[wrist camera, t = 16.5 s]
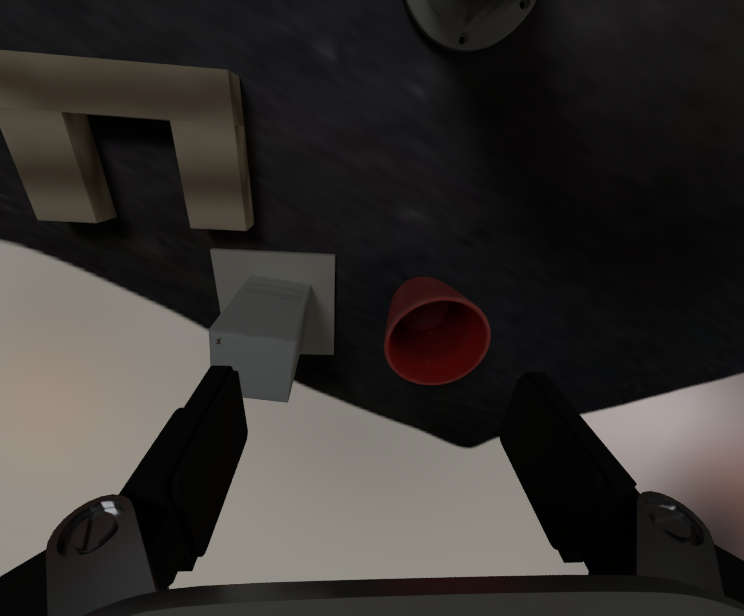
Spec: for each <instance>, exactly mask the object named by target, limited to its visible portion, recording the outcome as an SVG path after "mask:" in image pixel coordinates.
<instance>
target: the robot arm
mask: <svg viewBox="0 0 744 616" xmlns="http://www.w3.org/2000/svg"><path fill="white" fill-rule="evenodd" d="M404 2H405V5H406V8H407V10H408V13H409V15H410V16H411V18H412V20H413V21H414V23H415V25H416V26H417V28H418V29H419V30H420V31H421V32H422V33H423V34H424V36H425V37H426V38H428V39H429V40H430V41H432V42H433V43H434V44H436V45H437V46H439V47H441V48H444V49H446V50H449V51H453V52H460V53H467V52H476V51H479V50H482V49H485V48H488V47H490V46H492V45H493V44H495V43H497V42H499V41H500V40H502V39H503V38H504V37H506V36H507V35H508V34H510V33H511V32H512V31H513V30H514V29H515V28H516V27H517V26H518V25H519V24H520V23H521V22H522V21H523V20H524V18H525V17H526V16H527V15H528V13H529V12H530V11H531V9H532V8H533V6H534V4H535V2H536V0H404ZM520 3H521V4H522V9H521V7H520ZM459 38H462V39H463V44H460V43H459ZM247 434H248V429H247V423H246V416H245V410H244V405H243V397H242V391H241V385H240V378H239V373H238V371H237V370H233V368H232V366H219V365H213V366H211V367H210V368H209V370H208V371H207V373H206V374H205V376H204V377H203V379H202V380H201V382H200V384H199V385H198V387H197V388H196V390H195V391H194V393H193V394H192V396H191V397H190V399H189V400H188V402H187V403H186V405H185V407H184V408H179V409H177V410H176V411H175V412H174V413H173V415H172V416H171V418H170V419H169V421H168V422H167V424H166V425H165V427H164V428H163V430H162V431H161V433H160V434H159V436H158V437H157V439H156V440H155V441H154V443H153V444H152V446H151V448H150V449H149V450H148V452H147V453H146V455H145V456H144V458H143V459H142V461H141V462H140V464H139V465H138V467H137V468H136V470H135V471H134V473H133V474H132V476H131V477H130V479H129V480H128V482H127V483H126V484H125V486H124V488H123V489H122V491H121V492H120V494H119V495H114V494H112V495H107V496H101V497H99V498H96V499H94V500H91V501H89V502H87V503H85V504H84V505H82V506H80V507H79V508H77V509H76V510H74V511H73V512H72V513H71V514H69V515H68V516H67V517H66V518H65V519H63V521H62V522H61V523H60V524H59V525H58V526H57V528H56V529H55V530H54V531H53V533H52V535H51V537H50V539H49V541H48V543H47V548H46V550H44V551H43V552H41V553H39V554H38V555H36V556H34V557H33V558H31V559H29V560H27V561H26V562H24V563H23V564H21V565H19V566H17V567H16V568H14V569H12V570H11V571H9V572H8V573H6V574H4V575H2V576H1V577H0V616H744V561H743V560H741V559H739V558H738V557H736V556H734V555H732V554H731V553H729V552H727V551H725V550H723V549H722V548H720V547H718V546H717V545H715V544H714V542H713V539H712V536H711V534H710V531H709V530H708V529H707V527H706V526H705V524H704V523H703V522H702V521H701V520H700V519H699V518H698V517H697V516H696V515H695V514H694V513H693V512H692V511H691V510H690V509H688V508H687V507H686V506H684V505H683V504H681V503H680V502H678V501H676V500H675V499H673V498H671V497H669V496H666V495H664V494H661V493H657V492H652V491H648V492H643V493H641V494H640V493H639V492H638V491H637V490H636V488H635V486H636V482H635V481H634V480H633V479H632V478H631V476H630V475H629V474H628V473H627V471H626V470H625V469H624V468H623V467H622V465H621V464H620V463H619V462H618V461H617V459H616V458H615V457H614V456H613V455H612V453H611V452H610V451H609V450H608V449H607V447H606V446H605V445H604V444H603V443H602V441H601V440H600V439H599V438H598V437H597V436H596V434H595V433H594V432H593V430H592V429H591V428H590V427H589V426H588V424H587V423H586V422H585V421H584V420H583V418H582V417H581V416H580V415H579V414H578V412H577V411H576V410H575V409H574V408H573V406H572V405H571V404H570V403H569V401H568V400H567V399H566V398H565V397H564V395H563V394H562V393H561V392H560V391H559V389H558V388H557V387H556V386H555V385H554V383H553V382H552V381H551V380H550V379H549V377H548V376H547V375H546V374H545V373H531V372H527V373H525V374H524V375H523V377H520V378H519V379H518V381H517V384H516V387H515V390H514V393H513V396H512V398H511V401H510V404H509V407H508V410H507V413H506V416H505V419H504V421H503V424H502V427H501V430H500V441H501V444H502V446H503V448H504V450H505V452H506V454H507V456H508V458H509V460H510V462H511V464H512V467H513V468H514V470H515V472H516V475H517V477H518V479H519V481H520V483H521V485H522V487H523V489H524V491H525V493H526V495H527V497H528V499H529V501H530V503H531V505H532V507H533V509H534V511H535V513H536V515H537V518H538V520H539V522H540V524H541V526H542V528H543V530H544V532H545V534H546V536H547V538H548V540H549V542H550V544H551V546H552V547H553V548H554V549H556V550H558V552H559V554H560V555H561V557H562V559H563V561H564V563H572V562H583V561H584V563H585V565H586V567H587V568H588V570H589V573H588V575H542V576H541V575H540V576H488V577H447V578H407V579H369V580H337V581H304V582H271V583H250V584H230V585H212V586H196V587H187V588H177V589H169V587H168V586H170V585H171V584H172V583H173V582H174V579H175V577H176V574H177V572H178V571H192V570H193V568H194V565H195V562H196V560H197V557H202V556H203V555H204V554H205V552H206V550H207V547H208V545H209V542H210V539H211V536H212V533H213V531H214V528H215V525H216V523H217V520H218V517H219V515H220V512H221V509H222V506H223V504H224V501H225V498H226V495H227V493H228V490H229V487H230V484H231V482H232V478H233V476H234V474H235V470H236V468H237V465H238V462H239V460H240V457H241V454H242V451H243V449H244V446H245V443H246V440H247Z"/></svg>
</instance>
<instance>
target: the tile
mask: <svg viewBox="0 0 744 616" xmlns="http://www.w3.org/2000/svg"><path fill="white" fill-rule="evenodd" d="M210 252H211V258H212V264H213V269H214V275H215V281H216V287H217V293H218V299H219V305H220V310H221V313H222V312H223V311H224V309H225V308H226V307H227V305H228V304H229V303H230V302H231V300H232V299H233V298H234V296H235V295H236V294H237V292H238V291H239V290H240V289H241V287H242V286H243V285H244V283H245V282H246V281H247V279H248V278H249V277H250V276H251V275H257V276H263V277H269V278H275V279H281V280H287V281H294V282H300V283H305V284H310V285H311V291H310V299H309V307H308V315H307V322H306V330H305V337H304V341H303V344H302V348H301V352H300V354H315V355H334V305H335V254H319V253H298V252H277V251H256V250H235V249H215V248H212V249H211V250H210Z"/></svg>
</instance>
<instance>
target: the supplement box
mask: <svg viewBox="0 0 744 616" xmlns="http://www.w3.org/2000/svg"><path fill="white" fill-rule="evenodd" d="M310 291H311V285H310V284H305V283H300V282H294V281H287V280H281V279H275V278H269V277H263V276H257V275H251V276H250V277H249V278H248V279H247V281H246V282H245V283H244V285H243V286H242V287H241V289H240V290H239V291H238V292H237V294H236V295H235V296H234V298H233V299H232V300H231V302H230V303H229V304H228V305H227V307H226V308H225V309H224V311H223V312H222V313H221V314H220V316H219V317H218V318H217V320H216V321H215V322H214V324H213V325H212V326H211V327H210V329H209V339H210V365H211V366H213V365H219V366H232V368H233V370H237V371H238V373H239V378H240V385H241V391H242V397H244V398H253V399H261V400H270V401H279V402H288V400H289V396H290V392H291V388H292V384H293V380H294V376H295V371H296V367H297V363H298V359H299V356H300V352H301V348H302V344H303V341H304V337H305V330H306V322H307V315H308V307H309V299H310Z"/></svg>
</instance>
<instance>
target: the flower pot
mask: <svg viewBox="0 0 744 616" xmlns="http://www.w3.org/2000/svg"><path fill="white" fill-rule="evenodd" d="M490 338H491V333H490V326H489V323H488V320H487V318H486V316H485V315H484V313H483V312H482V311H481V310H480V309H479V308H478V307H477V306H476V305H475V304H473V303H472V302H471V301H470V300H468V299H467V298H465V297H464V296H463V295H461V294H460V293H458V292H457V291H455V290H454V289H452V288H451V287H449V286H448V285H446V284H444V283H443V282H441V281H439V280H438V279H435V278H432V277H425V276H423V277H416V278H412V279H410V280H408V281H406V282H405V283H403V284H402V285H401V286H400V287H399V288H398V289H397V290H396V292H395V294H394V295H393V298H392V302H391V306H390V310H389V315H388V320H387V326H386V332H385V341H384V352H385V357H386V359H387V362H388V364H389V365H390V367H391V368H392V369H393V370H394V371H395V372H396V373H397V374H398V375H399V376H401V377H402V378H404V379H406V380H408V381H410V382H413V383H417V384H422V385H441V384H446V383H450V382H453V381H455V380H458V379H460V378H462V377H463V376H465V375H466V374H468V373H469V372H471V371H472V370H473V369H474V368H475V367H477V366H478V364H479V363H480V362H481V361H482V359H483V358H484V356H485V354H486V353H487V350H488V348H489V344H490Z"/></svg>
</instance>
